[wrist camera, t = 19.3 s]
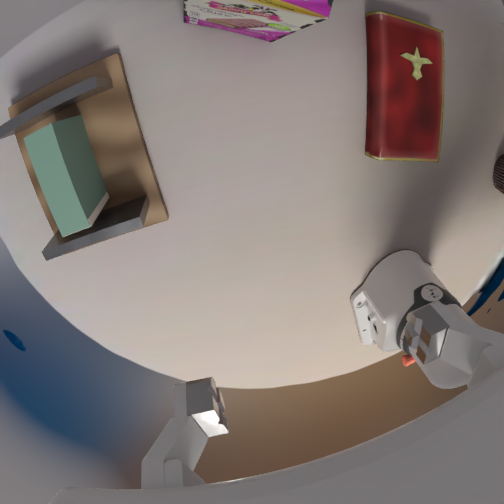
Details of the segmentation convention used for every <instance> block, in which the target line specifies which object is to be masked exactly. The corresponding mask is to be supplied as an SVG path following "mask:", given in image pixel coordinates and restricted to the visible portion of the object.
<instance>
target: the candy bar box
mask: <svg viewBox="0 0 504 504" xmlns="http://www.w3.org/2000/svg"><path fill="white" fill-rule="evenodd" d="M332 3H333V0H184V23H190V24H196V25H202V26H207V27H213V28H218V29H222V30H227V31H231V32H235V33H239V34H244V35H247V36H251V37H255V38H259V39H262V40H266V41H269V42H273V41H275V40H278V39H280V38H282V37H284V36H286V35H289V34H291V33H293V32H295V31H298V30H300V29H303V28H305V27H308V26H310V25H313V24H316V23H318V22H321V21H323V20H326V19H328V18H329V14H330V11H331V7H332Z"/></svg>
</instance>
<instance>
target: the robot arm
mask: <svg viewBox="0 0 504 504" xmlns="http://www.w3.org/2000/svg"><path fill="white" fill-rule="evenodd" d="M351 304H352V307H353V311H354V315H355V319H356V323H357V327H358V331H359V336H360V340H361V342H362V343H363V344H364V345H373V344H377V345H378V347H379V348H380V349H381V350H382V351H385V352H390V351H395V350H400V349H402V350H403V351H404V352H406V353H407V354H408V355H405V356H402V362H403V364H404V365H405V366H408V365H410V364H411V363H414V362H415V360H416V362H417V363H418V365H419V366H420V367H421V368H422V370H423V372H424V373H425V374H426V376H427V377H428V379H429V380H430V382H431V383H432V384H434V385H435V386H437V387H439V388H446V389H448V388H455V387H459V386H462V385H465V384H468V385H467V387H468V388H469V389H468V390H466V391H464V392H463V393H461V394H459V395H458V396H456V397H455V398H453V399H451V400H450V401H448V402H446V403H444V404H443V405H441V406H439V407H438V408H436V409H434V410H432V411H430V412H428V413H426V414H425V415H423V416H421V417H419V418H417V419H415V420H413V421H411V422H409V423H407V424H405V425H403V426H401V427H399V428H396V429H394V430H392V431H390V432H388V433H385V434H383V435H381V436H379V437H376V438H374V439H372V440H369V441H367V442H364V443H362V444H360V445H357V446H354V447H351V448H349V449H346V450H343V451H341V452H338V453H335V454H332V455H329V456H326V457H323V458H320V459H317V460H314V461H310V462H307V463H304V464H300V465H297V466H293V467H290V468H286V469H282V470H278V471H274V472H270V473H265V474H261V475H256V476H252V477H247V478H242V479H237V480H231V481H225V482H219V483H212V484H205V481H204V480H203V479H201V478H200V477H199V476H198V475H197V474H195V473H194V472H193V470H194V468H195V466H196V464H197V462H198V460H199V457H200V455H201V453H202V451H203V449H204V447H205V445H206V442H207V440H208V437H211V436H216V435H220V434H224V433H228V426H227V419H226V417H225V415H224V414H223V413H224V411H225V405H224V401H223V397H222V395H221V392H220V390H219V389H218V388H216V384H215V381H214V379H213V377H210V378H205V379H199V380H194V381H189V382H184V383H179V384H175V386H174V418H173V419H170V420H169V422H168V423H167V425H166V426H165V428H164V429H163V431H162V432H161V434H160V435H159V437H158V438H157V440H156V441H155V443H154V444H153V446H152V447H151V449H150V450H149V452H148V453H147V455H146V456H145V458H144V459H143V461H142V483H141V484H142V485H141V489H131V490H130V489H129V490H128V489H124V490H122V489H121V490H120V489H93V488H80V487H64V488H62V490H60V491H59V492H58V493H57V494H56V495H55V496H54V497H53V498H52V499H51V501H50V502H49V503H48V504H504V334H501V333H498V332H495V331H492V330H489V329H486V328H483V327H480V326H479V325H478V324H477V323H476V322H474V321H473V320H472V319H471V318H470V317H469V316H468V315H467V314H466V313H465V312H464V311H463V310H462V308H461V305H460V303H459V302H458V301H457V299H456V298H455V297H453V296H452V295H451V294H450V293H449V292H448V290H447V289H446V287H445V286H444V285H443V284H442V282H441V281H440V280H439V279H438V278H437V276H436V275H435V274H434V273H433V268H432V267H431V265H430V264H428V263H425V262H424V261H423V260H422V259H421V257H420V256H419V255H418V254H417V253H416V252H414V251H410V250H402V251H398V252H395V253H393V254H391V255H389V256H388V257H386V258H385V259H383V260H382V261H381V262H380V263H379V264H378V265H377V266H376V267H375V268H374V269H373V270H372V271H371V273H370V274H369V276H368V277H367V279H366V281H365V282H364V284H363V285H362V286H361V287H360V288H359V289H358V290H357V291H356V292H355V293H354V294H353V295H352V296H351Z"/></svg>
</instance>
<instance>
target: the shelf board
mask: <svg viewBox="0 0 504 504" xmlns="http://www.w3.org/2000/svg"><path fill="white" fill-rule="evenodd" d="M93 76H96V77H103V78H110V79H111V81H112V84H113V88H112V89H109V90H106V91H104V92H102V93H99V94H97V95H94V96H92V97H90V98H87V99H85V100H83V101H81V102H78V103H76V104H74V105H72V106H70V107H68V108H66V109H64V110H62V111H59V112H57V113H55V114H53V115H52V116H50V117H48V118H46V119H44V120H42V121H40V122H38V123H36V124H35V125H33V126H31V127H29V128H27V129H26V130H24V131H21V132H18V133H15V135H16V138H17V142H18V145H19V148H20V151H21V154H22V157H23V160H24V162H25V165H26V168H27V171H28V173H29V176H30V179H31V181H32V184H33V186H34V189H35V191H36V194H37V196H38V199H39V201H40V203H41V206H42V208H43V210H44V213H45V215H46V217H47V219H48V222H49V224H50V226H51V228H52V230H53V232H54V234H55V233H56V232H57V231H58V229H59V228H58V226H57V224H56V222H55V220H54V217H53V215H52V213H51V211H50V208H49V206H48V204H47V201H46V199H45V196H44V194H43V191H42V189H41V186H40V184H39V181H38V179H37V176H36V173H35V171H34V168H33V165H32V162H31V160H30V157H29V154H28V151H27V148H26V145H25V142H24V139H23V138H25V137H27V136H28V135H30V134H32V133H34V132H36V131H37V130H39V129H41V128H43V127H45V126H47V125H49V124H51V123H54V122H57V121H60V120H64V119H67V118H71V117H74V116H78V115H82V118H83V122H84V125H85V128H86V131H87V135H88V138H89V141H90V144H91V147H92V150H93V153H94V156H95V159H96V162H97V165H98V167H99V170H100V173H101V176H102V179H103V181H104V184H105V187H106V189H107V192H108V195H109V199H108V201H107V202H106V204H105V205H104V207H103V208H102V210H105V209H108V208H111V207H113V206H116V205H119V204H122V203H125V202H128V201H131V200H133V199H136V198H139V197H142V196H145V195H147V196H148V199H149V202H150V206H149V209H148V213H147V216H146V220H145V223H144V227H147V226H150V225H153V224H157V223H160V222H163V221H166V220H168V218H169V215H168V212H167V209H166V206H165V203H164V200H163V197H162V194H161V191H160V188H159V185H158V182H157V179H156V176H155V173H154V170H153V167H152V164H151V161H150V158H149V155H148V151H147V148H146V145H145V142H144V138H143V135H142V132H141V128H140V125H139V122H138V118H137V115H136V111H135V108H134V104H133V101H132V97H131V93H130V90H129V86H128V82H127V78H126V75H125V71H124V67H123V63H122V59H121V55H120V54H119V53H116V54H114V55H111V56H109V57H106V58H104V59H101V60H99V61H97V62H94V63H92V64H90V65H87V66H85V67H83V68H81V69H78V70H76V71H74V72H72V73H70V74H68V75H66V76H64V77H62V78H60V79H58V80H56V81H54V82H52V83H50V84H48V85H46V86H44V87H43V88H41V89H39V90H37V91H35V92H34V93H32V94H30V95H28V96H27V97H25V98H23V99H22V100H20V101H18V102H17V103H15V104H14V105H12V106H10V107H9V108H8V111H9V115H10V118H11V119H12V118H14V117H16V116H17V115H19V114H21V113H22V112H24V111H26V110H27V109H29V108H31V107H33V106H34V105H36V104H38V103H40V102H42V101H43V100H45V99H47V98H49V97H51V96H53V95H55V94H57V93H59V92H61V91H63V90H65V89H67V88H69V87H71V86H73V85H75V84H78V83H80V82H82V81H84V80H86V79H89V78H91V77H93ZM102 210H101V211H102ZM144 227H142V228H144ZM139 229H141V228H139ZM136 230H138V229H136ZM133 231H135V230H133ZM130 232H132V231H130ZM127 233H128V232H127ZM124 234H125V233H124ZM121 235H122V234H121ZM118 236H119V235H118ZM115 237H116V236H115ZM112 238H113V237H112ZM109 239H110V238H109ZM106 240H107V239H106ZM103 241H105V240H103ZM100 242H102V241H100ZM97 243H99V242H97ZM94 244H96V243H94ZM91 245H93V244H91ZM89 246H90V245H89ZM86 247H87V246H86ZM83 248H84V247H83ZM80 249H81V248H80ZM77 250H79V249H77ZM74 251H76V250H74ZM72 252H73V251H72ZM69 253H70V252H69ZM66 254H68V253H66ZM64 255H65V254H64Z"/></svg>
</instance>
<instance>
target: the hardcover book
mask: <svg viewBox="0 0 504 504" xmlns="http://www.w3.org/2000/svg"><path fill="white" fill-rule="evenodd" d="M365 15H366V32H367V67H368V91H367V128H366V147H365V155H367V156H369V157H371V158H374V159H376V160H399V161H431V162H438V161H439V153H440V144H441V133H442V121H443V104H444V40H443V31H441V30H439V29H436V28H433V27H431V26H428V25H425V24H422V23H419V22H416V21H413V20H410V19H407V18H404V17H400V16H397V15H394V14H390V13H386V12H383V11H374V12H370V13H367V14H365Z"/></svg>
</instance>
